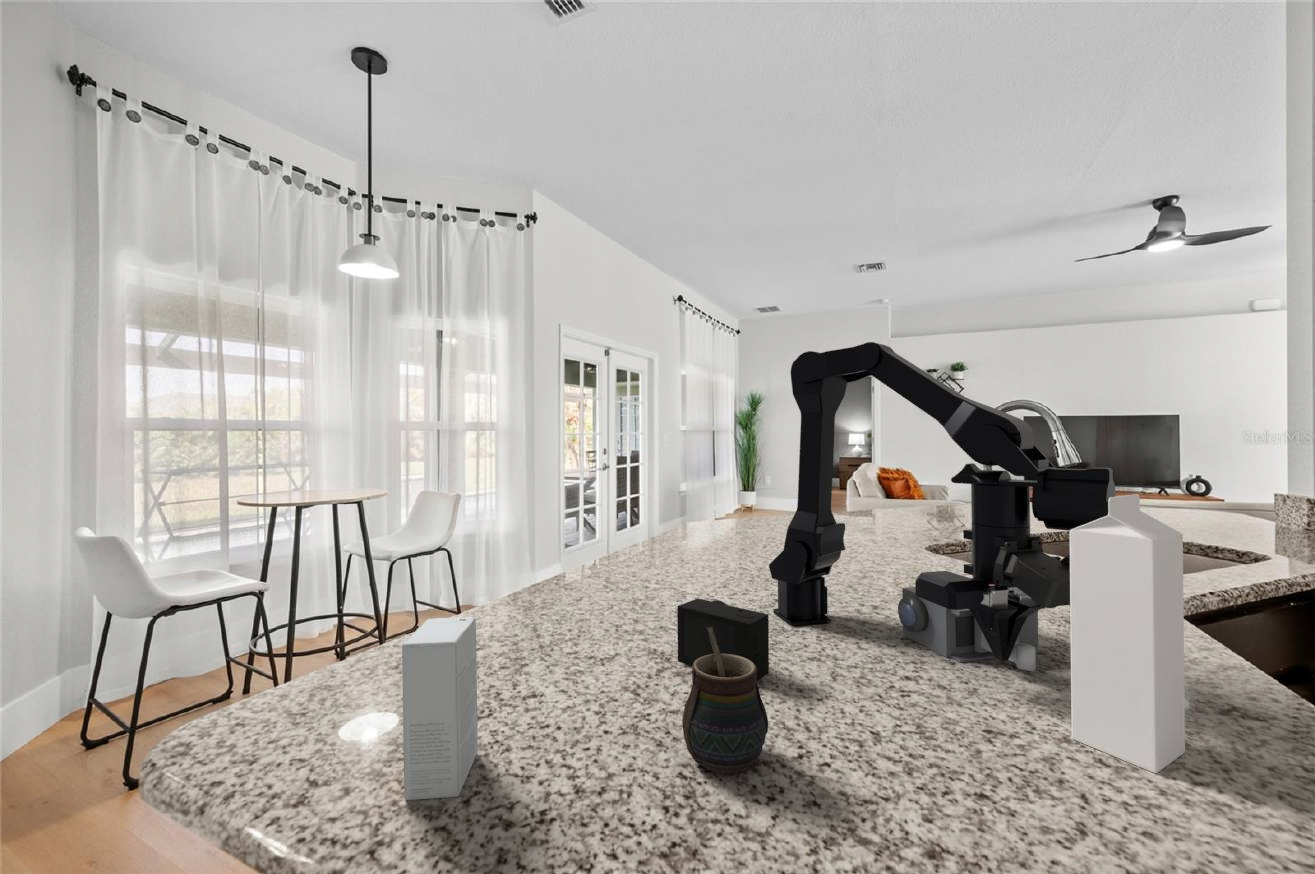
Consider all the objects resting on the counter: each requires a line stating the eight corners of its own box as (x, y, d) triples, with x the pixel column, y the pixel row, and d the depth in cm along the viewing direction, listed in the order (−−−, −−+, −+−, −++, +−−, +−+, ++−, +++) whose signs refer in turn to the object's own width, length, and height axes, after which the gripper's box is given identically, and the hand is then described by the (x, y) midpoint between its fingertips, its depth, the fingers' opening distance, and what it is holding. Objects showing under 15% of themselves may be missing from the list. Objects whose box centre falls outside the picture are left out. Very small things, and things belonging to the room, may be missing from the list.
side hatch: (1025, 674, 60) (1025, 633, 60) (974, 650, 67) (974, 613, 67) (1068, 669, 62) (1068, 629, 62) (1014, 646, 69) (1013, 609, 69)
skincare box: (428, 756, 47) (427, 617, 47) (478, 753, 47) (477, 615, 47) (400, 803, 41) (399, 643, 41) (459, 799, 41) (458, 641, 41)
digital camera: (775, 670, 64) (774, 611, 64) (751, 687, 59) (750, 623, 59) (703, 649, 70) (703, 595, 70) (677, 662, 66) (677, 605, 66)
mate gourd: (707, 796, 41) (706, 665, 41) (666, 744, 48) (665, 632, 48) (785, 772, 44) (784, 649, 44) (735, 727, 51) (735, 621, 51)
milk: (1185, 754, 46) (1185, 497, 46) (1156, 775, 43) (1156, 501, 43) (1100, 721, 52) (1100, 491, 52) (1068, 738, 49) (1068, 494, 49)
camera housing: (945, 664, 65) (944, 603, 65) (892, 636, 74) (892, 582, 74) (1049, 651, 68) (1049, 594, 68) (987, 626, 78) (986, 575, 78)
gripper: (990, 540, 52) (991, 702, 52) (1139, 532, 56) (1141, 681, 56) (911, 523, 63) (912, 657, 63) (1041, 517, 67) (1043, 642, 67)
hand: (1001, 660), depth 62 cm, fingers closed
